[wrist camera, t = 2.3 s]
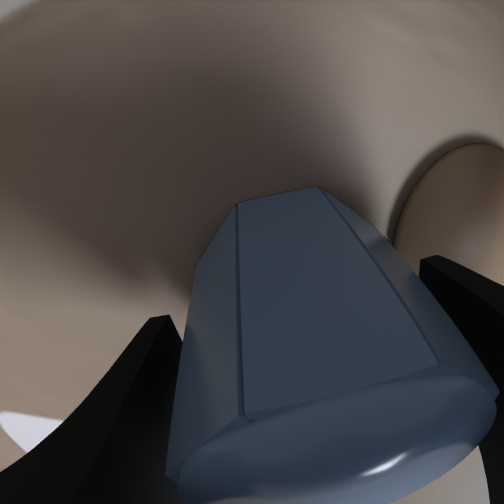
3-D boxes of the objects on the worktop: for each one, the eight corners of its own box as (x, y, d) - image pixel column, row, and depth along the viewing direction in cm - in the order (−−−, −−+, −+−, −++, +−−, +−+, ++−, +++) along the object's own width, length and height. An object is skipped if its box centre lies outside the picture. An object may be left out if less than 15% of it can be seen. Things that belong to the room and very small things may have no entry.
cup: (372, 175, 9) (546, 331, 3) (376, 322, 12) (447, 481, 5) (179, 216, 9) (104, 440, 3) (229, 354, 12) (231, 532, 6)
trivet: (531, 139, 8) (537, 142, 8) (510, 286, 11) (515, 290, 11) (388, 153, 9) (394, 156, 8) (389, 329, 12) (392, 335, 12)
